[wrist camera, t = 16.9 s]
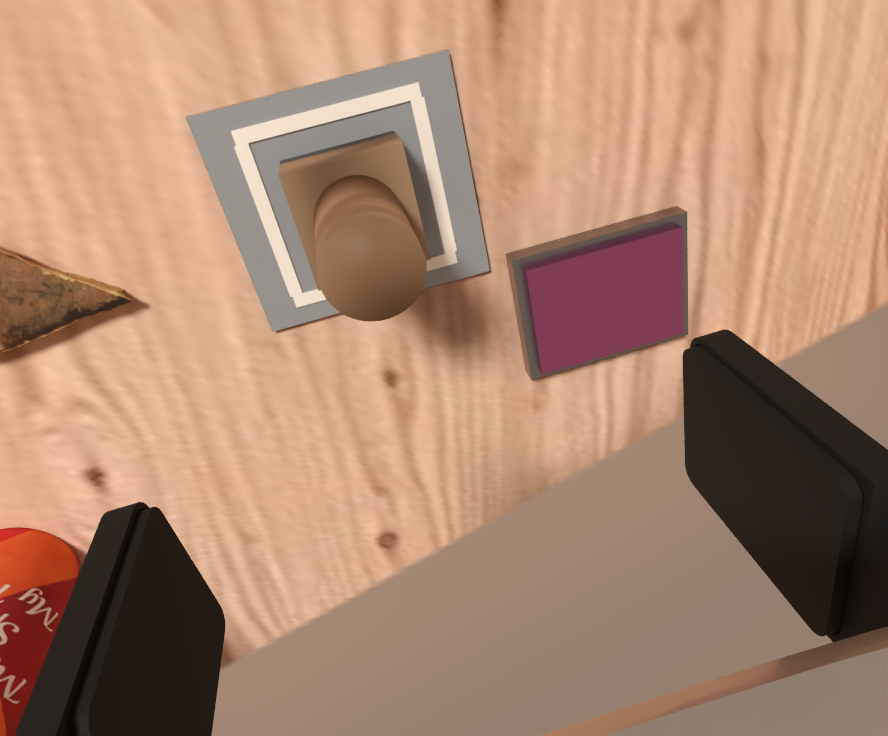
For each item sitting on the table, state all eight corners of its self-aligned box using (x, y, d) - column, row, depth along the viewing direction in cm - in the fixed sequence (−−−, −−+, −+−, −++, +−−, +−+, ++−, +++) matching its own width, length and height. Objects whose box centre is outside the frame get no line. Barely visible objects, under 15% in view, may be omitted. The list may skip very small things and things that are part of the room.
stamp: (393, 130, 27) (429, 176, 20) (420, 239, 30) (460, 317, 22) (280, 160, 27) (272, 219, 19) (316, 267, 29) (322, 356, 22)
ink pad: (676, 206, 32) (692, 214, 31) (678, 326, 35) (692, 338, 34) (505, 254, 31) (514, 264, 30) (525, 371, 35) (534, 384, 34)
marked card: (447, 49, 26) (449, 50, 26) (488, 268, 31) (490, 271, 31) (187, 116, 26) (185, 118, 25) (272, 329, 31) (272, 332, 31)
